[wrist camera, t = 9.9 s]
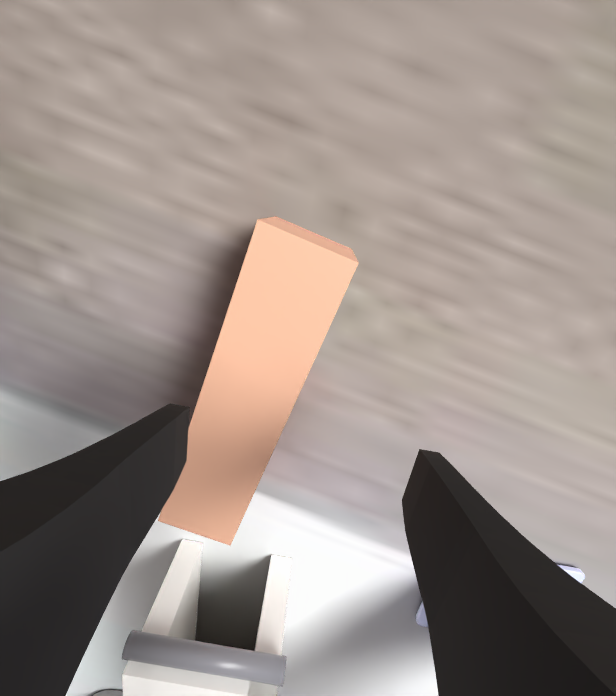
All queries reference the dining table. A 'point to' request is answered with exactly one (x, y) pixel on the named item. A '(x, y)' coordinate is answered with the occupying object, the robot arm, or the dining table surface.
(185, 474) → the orange long block
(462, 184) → the dining table surface
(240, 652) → the dispenser
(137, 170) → the dining table surface
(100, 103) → the dining table surface
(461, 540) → the robot arm
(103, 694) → the travel mug
